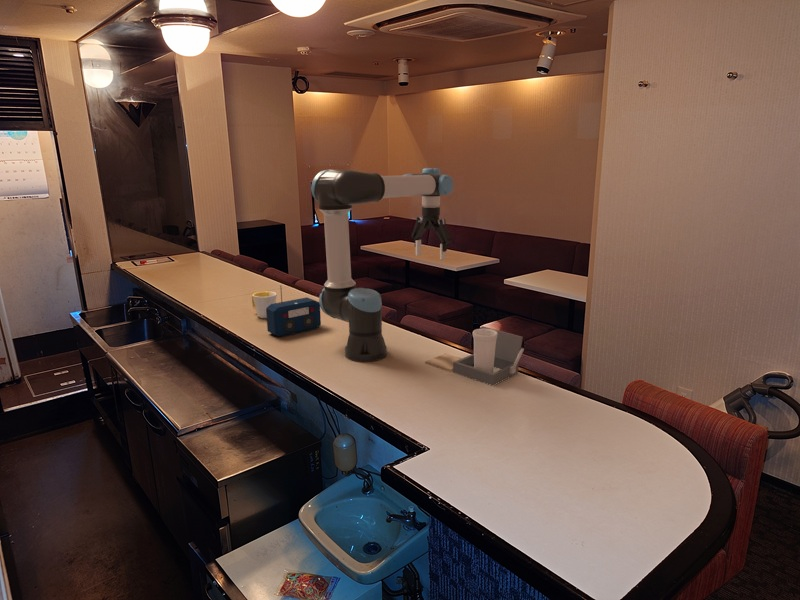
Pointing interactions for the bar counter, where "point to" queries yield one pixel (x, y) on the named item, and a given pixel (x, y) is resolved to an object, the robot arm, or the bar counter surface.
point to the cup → (484, 349)
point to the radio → (293, 316)
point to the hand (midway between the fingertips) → (430, 257)
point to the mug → (263, 302)
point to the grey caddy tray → (504, 359)
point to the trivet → (443, 361)
